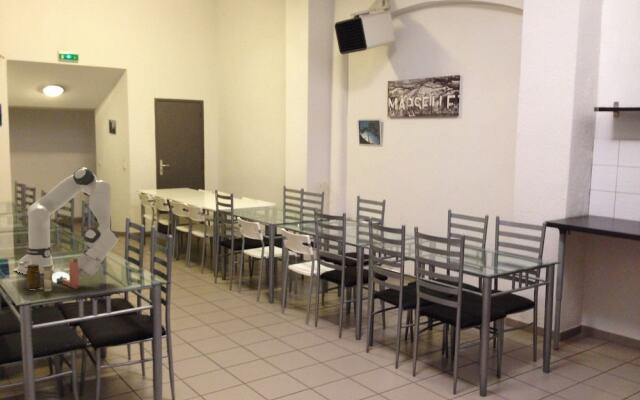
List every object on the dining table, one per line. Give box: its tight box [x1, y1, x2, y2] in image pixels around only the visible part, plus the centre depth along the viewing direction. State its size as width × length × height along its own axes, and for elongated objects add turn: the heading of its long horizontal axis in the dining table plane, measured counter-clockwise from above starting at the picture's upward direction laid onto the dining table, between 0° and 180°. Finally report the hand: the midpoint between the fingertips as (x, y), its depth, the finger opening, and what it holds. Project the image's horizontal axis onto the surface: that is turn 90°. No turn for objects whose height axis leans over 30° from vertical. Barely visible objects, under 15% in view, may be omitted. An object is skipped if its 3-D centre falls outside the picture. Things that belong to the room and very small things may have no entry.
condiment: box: [26, 264, 45, 290], centre depth 294 cm, size 7×8×12 cm
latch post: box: [43, 264, 54, 292], centre depth 291 cm, size 4×4×13 cm
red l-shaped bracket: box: [62, 257, 80, 290], centre depth 299 cm, size 16×2×16 cm, turn 47°
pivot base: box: [56, 275, 68, 285], centre depth 307 cm, size 5×5×3 cm
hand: (76, 277), depth 298 cm, fingers closed
